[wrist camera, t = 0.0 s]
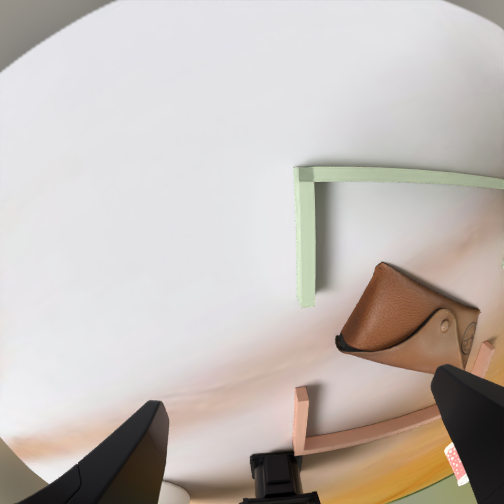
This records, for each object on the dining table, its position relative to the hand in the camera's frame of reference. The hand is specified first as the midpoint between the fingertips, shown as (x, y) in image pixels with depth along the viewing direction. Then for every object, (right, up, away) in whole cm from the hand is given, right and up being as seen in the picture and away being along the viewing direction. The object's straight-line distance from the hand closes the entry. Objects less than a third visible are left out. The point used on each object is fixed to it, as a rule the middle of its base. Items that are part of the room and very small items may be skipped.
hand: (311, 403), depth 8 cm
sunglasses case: (+15, -3, +17) cm, 23 cm away
